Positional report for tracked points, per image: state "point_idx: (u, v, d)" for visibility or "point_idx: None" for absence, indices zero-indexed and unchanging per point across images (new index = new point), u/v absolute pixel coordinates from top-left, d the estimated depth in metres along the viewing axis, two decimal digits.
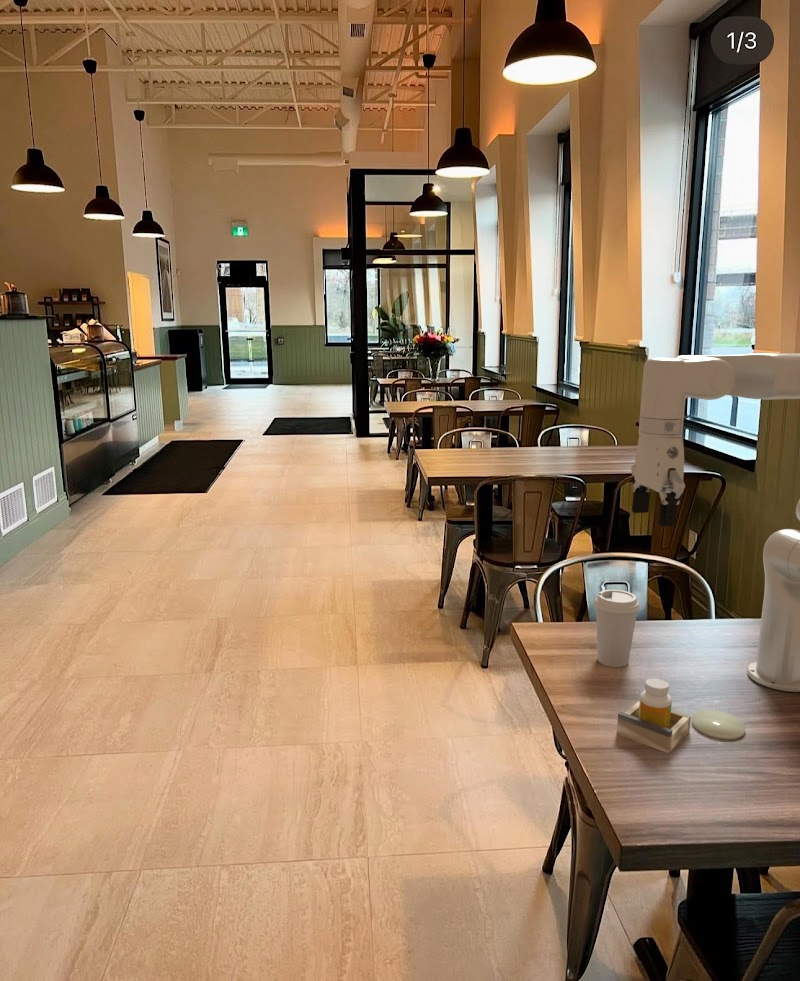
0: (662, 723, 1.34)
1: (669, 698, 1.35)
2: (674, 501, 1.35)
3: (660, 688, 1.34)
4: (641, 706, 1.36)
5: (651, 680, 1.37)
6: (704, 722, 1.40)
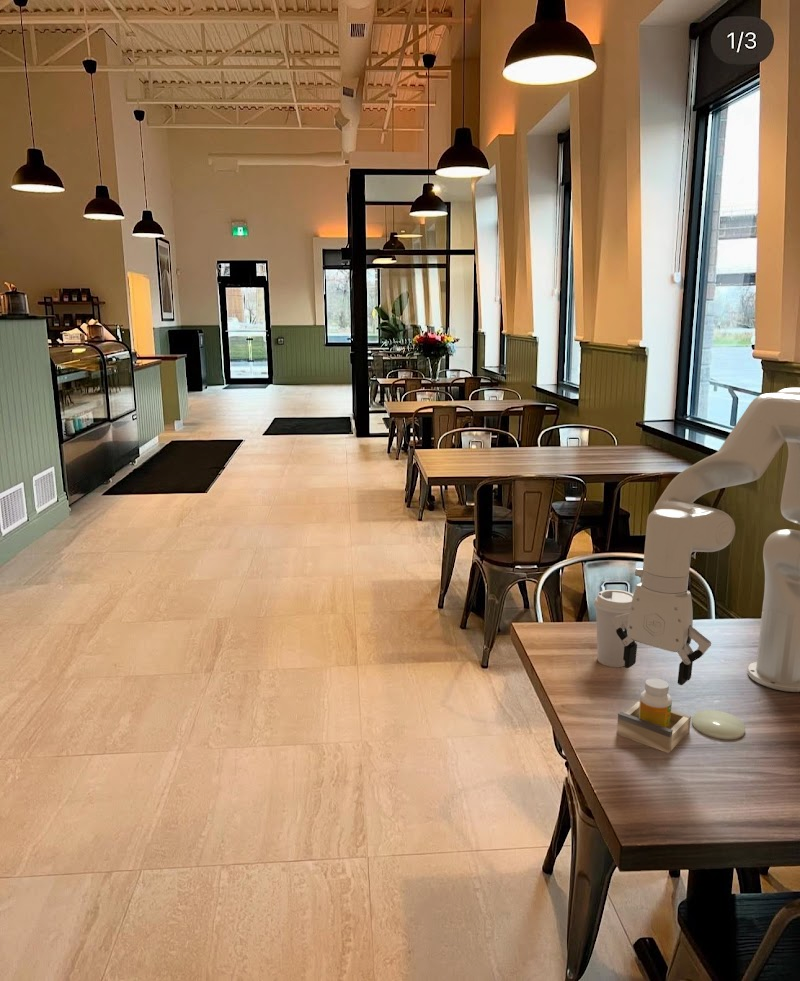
0: (662, 723, 1.34)
1: (669, 698, 1.35)
2: None
3: (660, 688, 1.34)
4: (641, 706, 1.36)
5: (651, 680, 1.37)
6: (704, 722, 1.40)
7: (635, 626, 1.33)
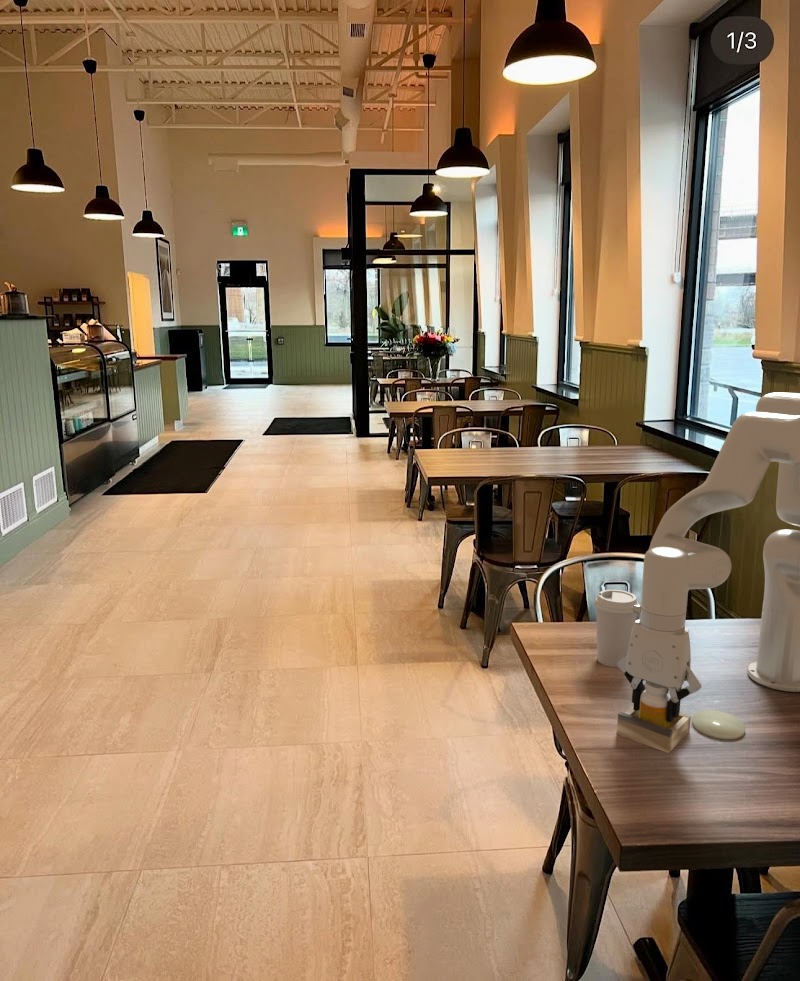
0: (663, 723, 1.34)
1: (669, 698, 1.35)
2: None
3: (660, 688, 1.34)
4: (641, 706, 1.36)
5: None
6: (704, 722, 1.40)
7: (634, 662, 1.35)
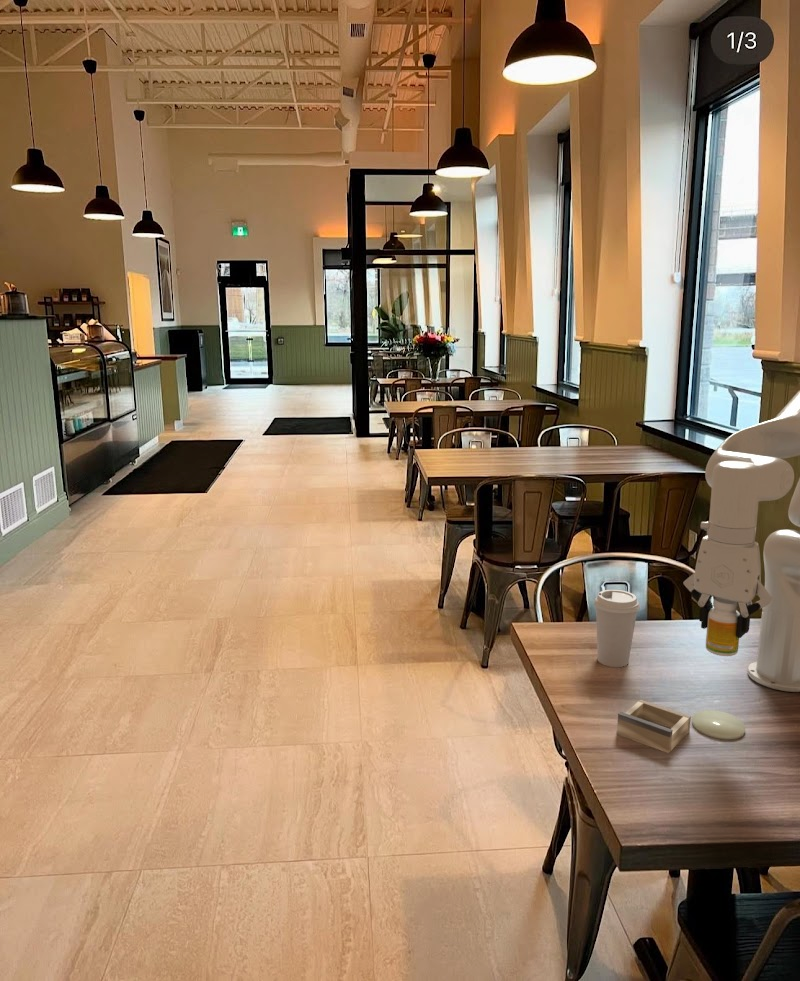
0: (732, 639, 1.34)
1: (738, 614, 1.34)
2: None
3: (730, 603, 1.33)
4: (710, 623, 1.35)
5: None
6: (704, 722, 1.40)
7: (702, 579, 1.34)
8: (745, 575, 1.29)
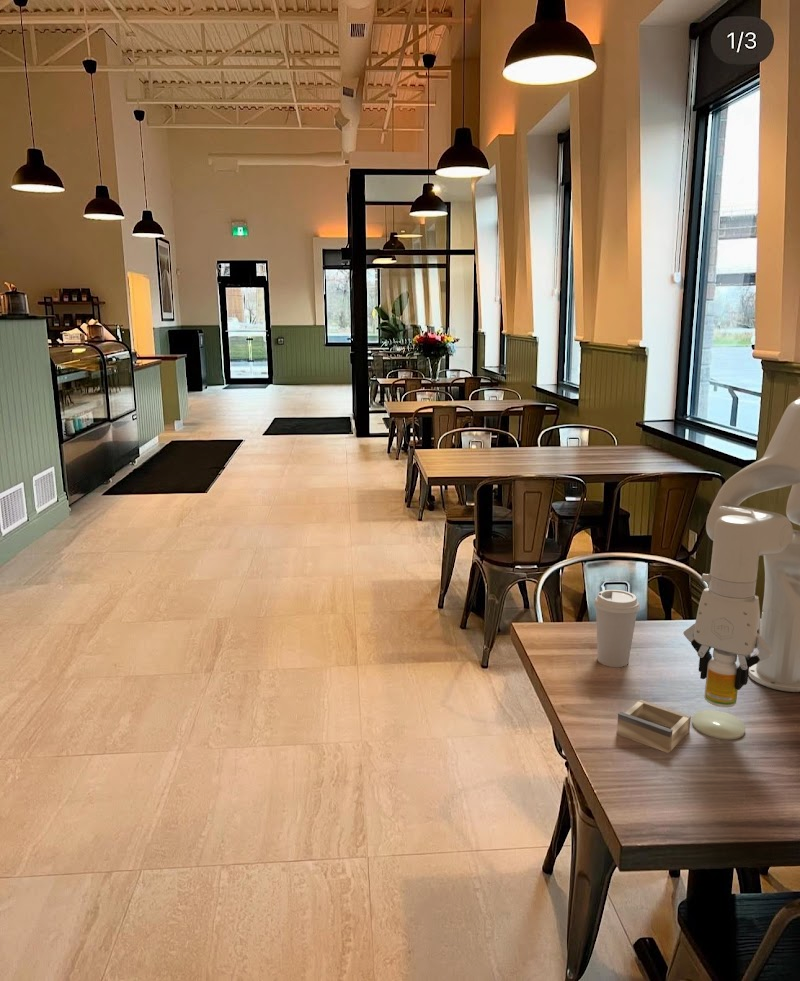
0: (731, 690, 1.35)
1: (737, 666, 1.36)
2: None
3: (729, 655, 1.35)
4: (709, 674, 1.37)
5: None
6: (704, 722, 1.40)
7: (703, 630, 1.36)
8: (745, 628, 1.31)
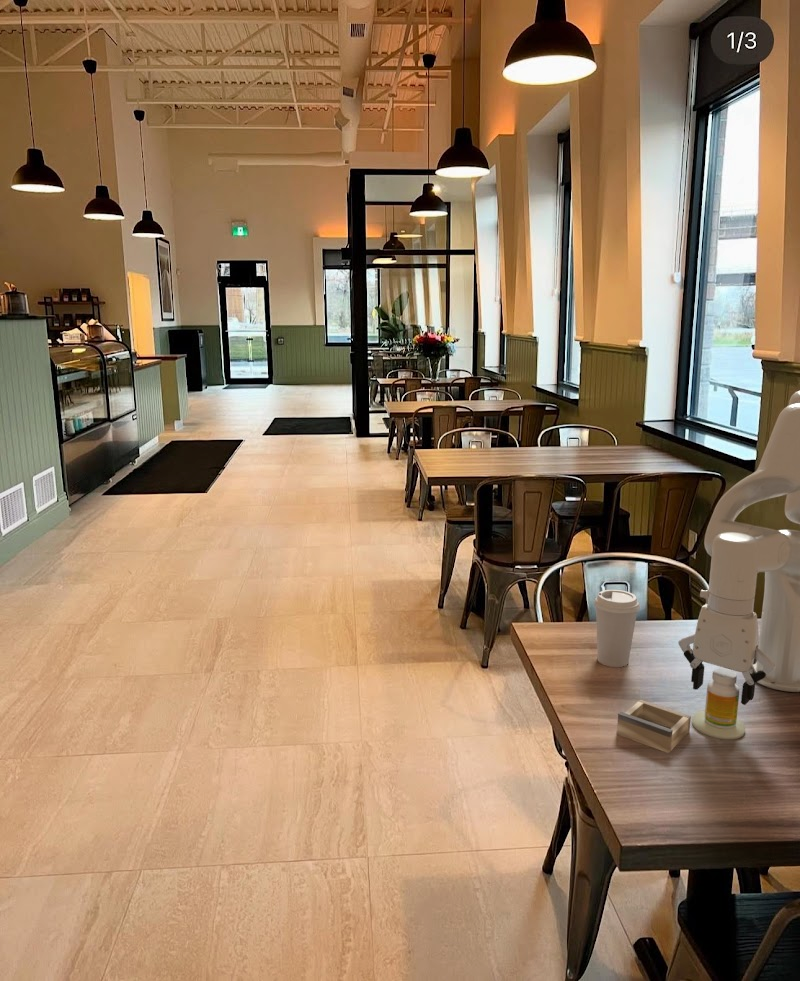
0: (731, 712, 1.36)
1: (737, 688, 1.37)
2: None
3: (729, 678, 1.36)
4: (709, 696, 1.38)
5: (718, 670, 1.39)
6: (704, 722, 1.40)
7: (701, 646, 1.37)
8: (743, 645, 1.32)
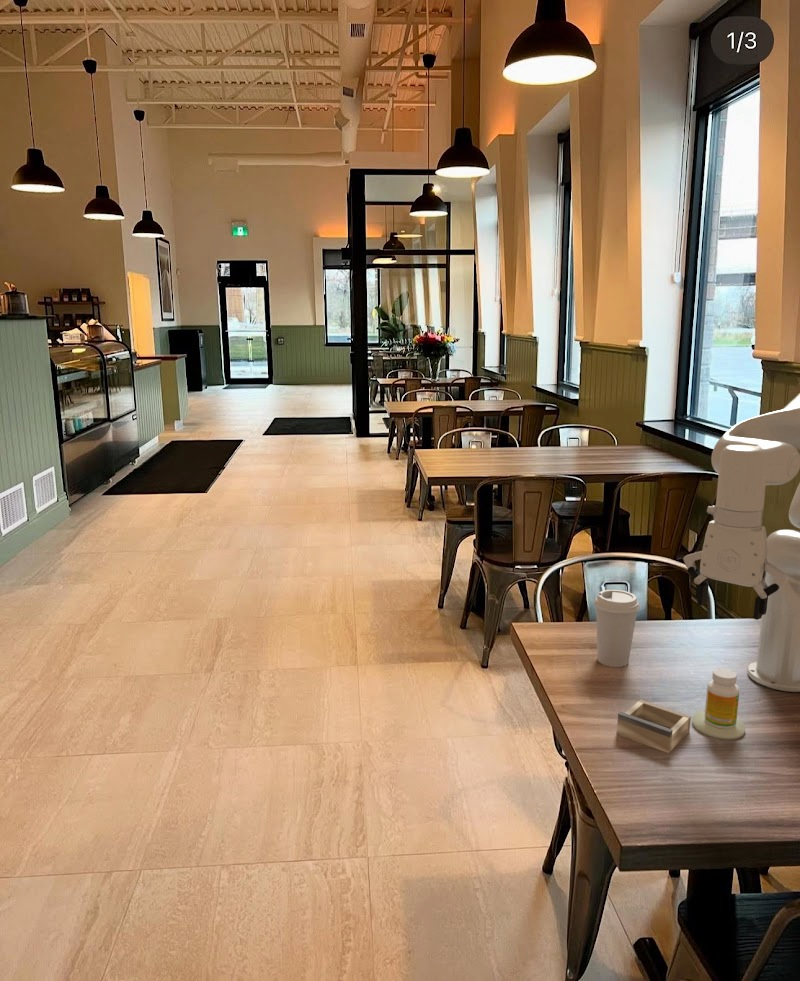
0: (731, 712, 1.36)
1: (737, 688, 1.37)
2: None
3: (729, 678, 1.36)
4: (709, 696, 1.38)
5: (718, 670, 1.39)
6: (704, 722, 1.40)
7: (709, 563, 1.34)
8: (752, 559, 1.29)
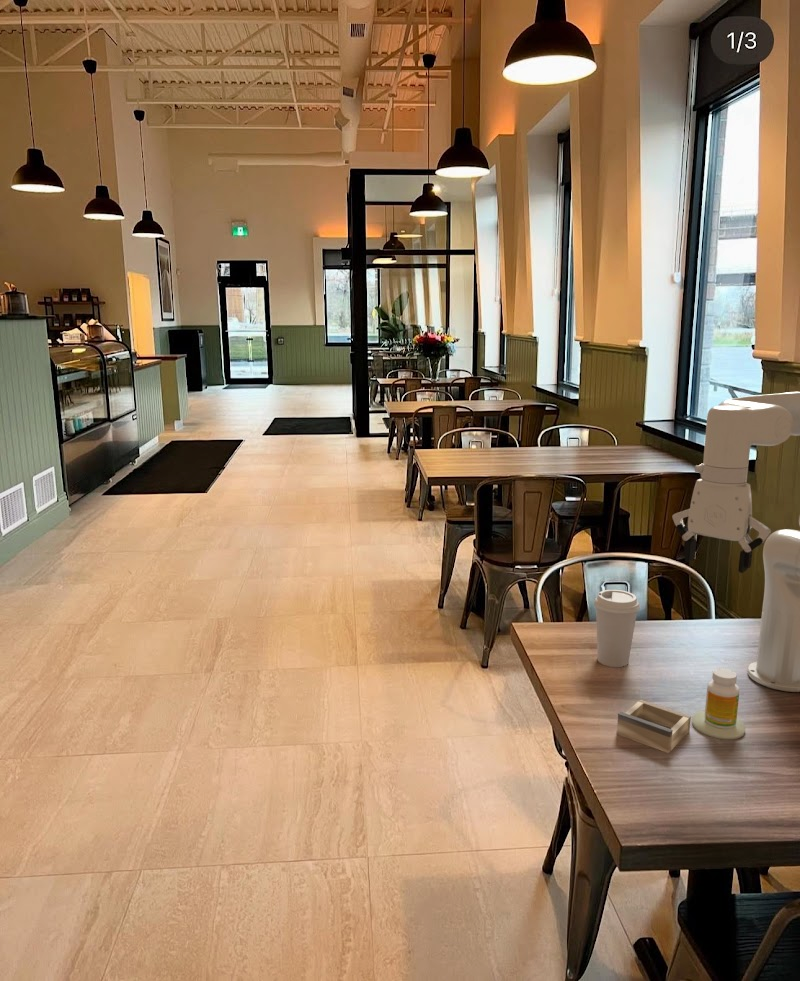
0: (731, 712, 1.36)
1: (737, 688, 1.37)
2: None
3: (729, 678, 1.36)
4: (709, 696, 1.38)
5: (718, 670, 1.39)
6: (704, 722, 1.40)
7: (696, 519, 1.40)
8: (737, 513, 1.35)
